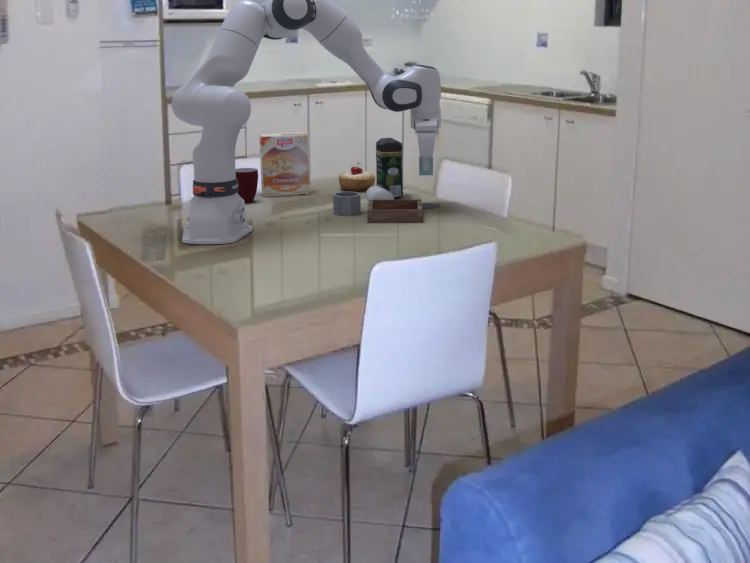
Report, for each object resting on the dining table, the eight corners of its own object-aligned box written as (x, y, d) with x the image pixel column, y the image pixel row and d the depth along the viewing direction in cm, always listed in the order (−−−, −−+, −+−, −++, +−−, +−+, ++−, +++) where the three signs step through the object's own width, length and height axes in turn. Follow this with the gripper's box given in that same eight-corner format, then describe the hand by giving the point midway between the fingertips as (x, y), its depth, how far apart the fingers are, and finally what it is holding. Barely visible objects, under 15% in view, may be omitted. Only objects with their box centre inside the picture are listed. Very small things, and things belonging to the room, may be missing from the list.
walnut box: (422, 224, 254) (422, 210, 253) (367, 224, 255) (367, 210, 254) (421, 212, 269) (421, 199, 268) (369, 213, 269) (369, 199, 268)
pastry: (334, 192, 301) (333, 165, 299) (345, 185, 312) (344, 159, 310) (369, 193, 298) (368, 166, 295) (379, 187, 309) (378, 160, 306)
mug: (221, 203, 286) (219, 171, 283) (233, 198, 293) (231, 167, 290) (252, 204, 283) (251, 172, 280) (263, 199, 290) (262, 168, 287)
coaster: (441, 211, 270) (441, 209, 270) (410, 211, 271) (410, 209, 271) (439, 205, 279) (439, 203, 279) (410, 205, 279) (410, 203, 279)
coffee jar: (374, 194, 296) (373, 136, 291) (397, 193, 298) (397, 135, 293) (380, 200, 287) (380, 140, 282) (405, 198, 289) (405, 139, 283)
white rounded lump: (396, 206, 274) (391, 188, 272) (377, 213, 272) (372, 194, 270) (386, 201, 282) (381, 182, 280) (368, 207, 281) (363, 189, 279)
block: (432, 175, 270) (433, 158, 269) (419, 175, 270) (419, 158, 269) (432, 172, 274) (432, 156, 273) (419, 173, 274) (419, 156, 273)
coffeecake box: (263, 197, 294) (260, 136, 289) (261, 193, 301) (258, 133, 295) (309, 194, 297) (307, 134, 292) (306, 190, 304) (304, 131, 299)
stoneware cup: (360, 217, 264) (359, 196, 262) (333, 217, 264) (332, 196, 263) (361, 211, 272) (360, 191, 270) (334, 211, 272) (334, 191, 270)
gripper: (414, 117, 278) (414, 163, 282) (415, 126, 258) (415, 174, 262) (435, 117, 278) (435, 162, 281) (437, 125, 258) (437, 174, 262)
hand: (425, 168), depth 272 cm, fingers closed on block, 4 cm apart
